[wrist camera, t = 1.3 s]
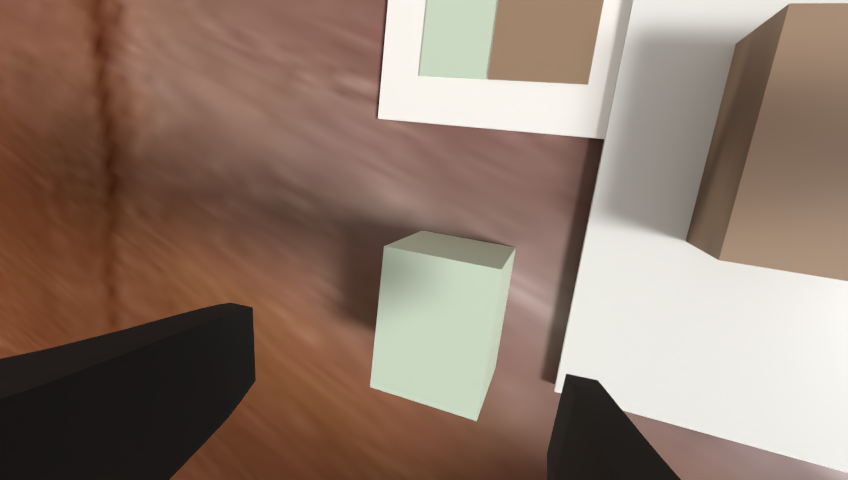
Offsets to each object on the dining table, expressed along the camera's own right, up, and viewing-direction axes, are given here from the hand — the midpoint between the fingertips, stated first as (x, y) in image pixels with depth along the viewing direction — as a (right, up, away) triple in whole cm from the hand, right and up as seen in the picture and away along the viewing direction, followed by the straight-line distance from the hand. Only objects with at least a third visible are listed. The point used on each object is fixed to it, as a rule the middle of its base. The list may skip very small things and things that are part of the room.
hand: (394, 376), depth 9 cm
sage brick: (+2, 0, +11) cm, 11 cm away
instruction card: (+4, +12, +8) cm, 15 cm away
